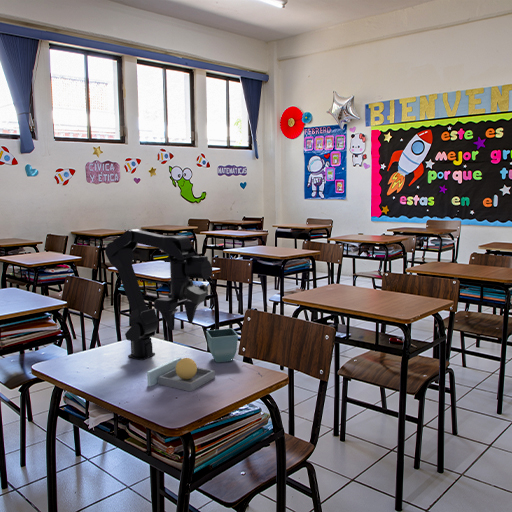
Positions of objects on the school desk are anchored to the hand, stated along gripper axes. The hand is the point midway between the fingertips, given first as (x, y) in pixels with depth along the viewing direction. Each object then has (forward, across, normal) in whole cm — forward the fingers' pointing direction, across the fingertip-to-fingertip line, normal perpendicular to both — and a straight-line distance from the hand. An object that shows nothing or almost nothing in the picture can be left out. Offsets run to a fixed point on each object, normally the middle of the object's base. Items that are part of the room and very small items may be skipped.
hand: (181, 326), depth 153 cm
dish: (+12, -11, -10) cm, 19 cm away
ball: (+11, -11, -10) cm, 19 cm away
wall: (+12, -12, -3) cm, 17 cm away
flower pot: (+12, +9, -9) cm, 18 cm away
